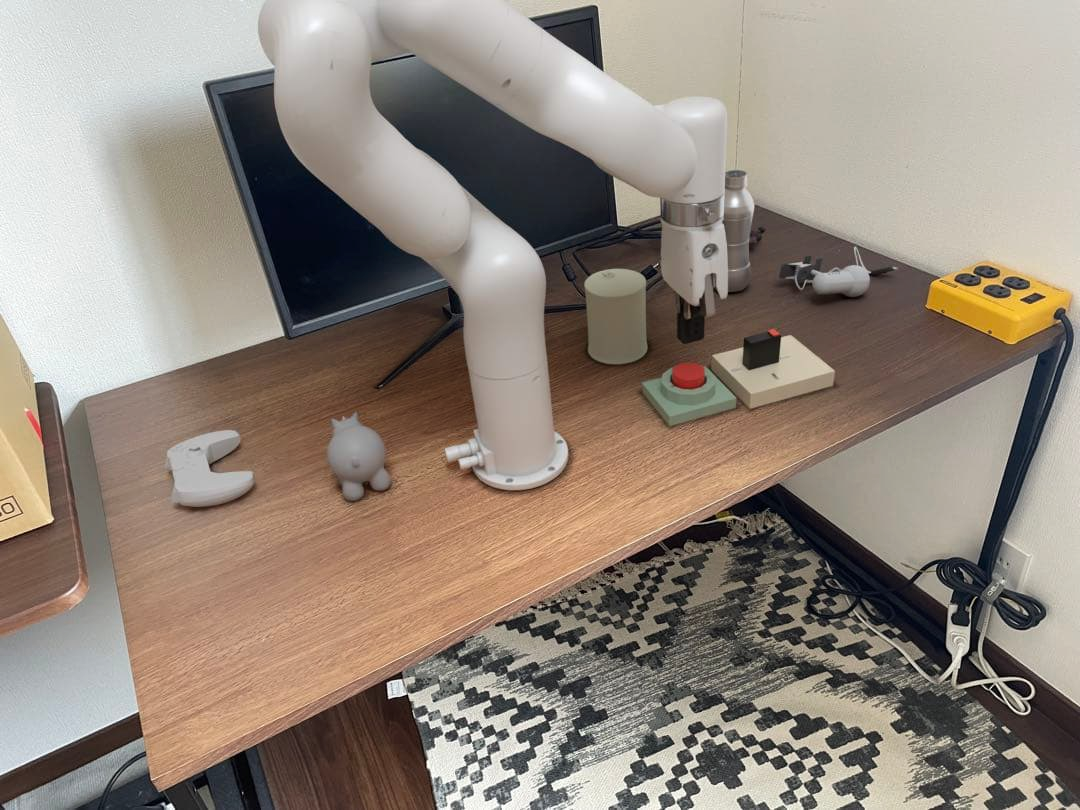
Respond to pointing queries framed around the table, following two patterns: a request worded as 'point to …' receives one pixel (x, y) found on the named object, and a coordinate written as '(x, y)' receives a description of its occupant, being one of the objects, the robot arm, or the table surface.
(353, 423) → the chubby cartoon animal
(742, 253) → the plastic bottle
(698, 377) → the power button
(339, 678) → the table surface
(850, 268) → the clip-on lamp
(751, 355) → the knob
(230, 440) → the game controller
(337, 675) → the table surface
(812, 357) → the panel
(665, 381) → the power switch
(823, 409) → the table surface
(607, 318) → the can
